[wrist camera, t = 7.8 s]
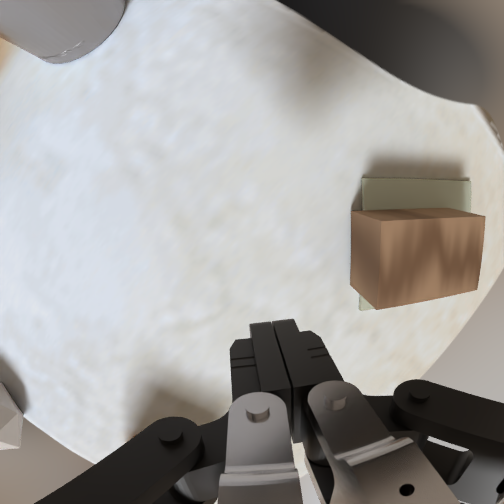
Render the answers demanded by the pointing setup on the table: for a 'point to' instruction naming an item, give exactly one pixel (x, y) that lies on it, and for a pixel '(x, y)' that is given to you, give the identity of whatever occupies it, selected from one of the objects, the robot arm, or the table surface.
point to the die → (9, 421)
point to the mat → (413, 198)
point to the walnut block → (414, 254)
